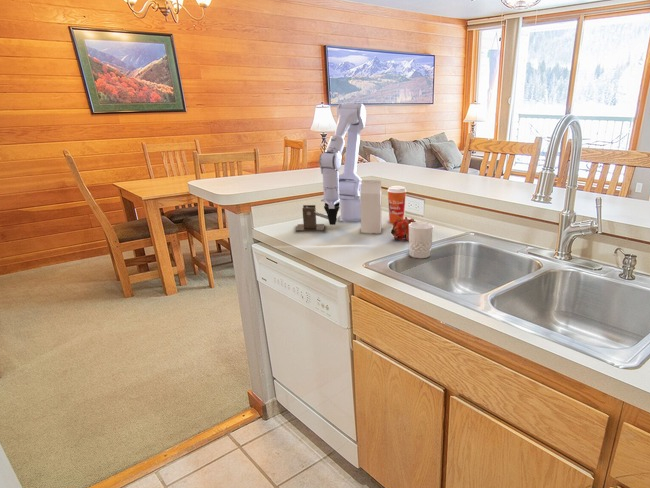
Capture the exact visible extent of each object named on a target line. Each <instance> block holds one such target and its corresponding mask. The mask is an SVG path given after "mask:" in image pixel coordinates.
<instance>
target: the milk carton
mask: <svg viewBox="0 0 650 488" xmlns="http://www.w3.org/2000/svg"><path fill="white" fill-rule="evenodd" d="M360 198H361V221H360V233H362V234H363V233H364V234H381V232H382V180H381V179H380V180H379V179H362V180H361V196H360Z"/></svg>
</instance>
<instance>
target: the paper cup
mask: <svg viewBox="0 0 650 488" xmlns="http://www.w3.org/2000/svg"><path fill="white" fill-rule="evenodd" d="M407 192H408V190H407V189H406V186H402V185H391V186H389V187H388V188H387V199H388V217H389V219H388V220H389V223H390V224H392V225H393V223H394V222H396V221H398V220H399V219H405V207H406V197H407V196H406V195H407Z"/></svg>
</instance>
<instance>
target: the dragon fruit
mask: <svg viewBox="0 0 650 488" xmlns="http://www.w3.org/2000/svg"><path fill="white" fill-rule="evenodd" d="M413 222H417V221H416V220H415V219H414V218H412V217H411V218H408V217H407V216H404V219H399V220H398V221H396V222H394V223H393V224H392V229H391V230H390V234H391V235H392V236H394V237H393V239H394V240H395V241H396V240H397V241H401V240H404V239H405V240H406V242H407V241H408V242H409V224H410V223H413Z"/></svg>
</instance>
